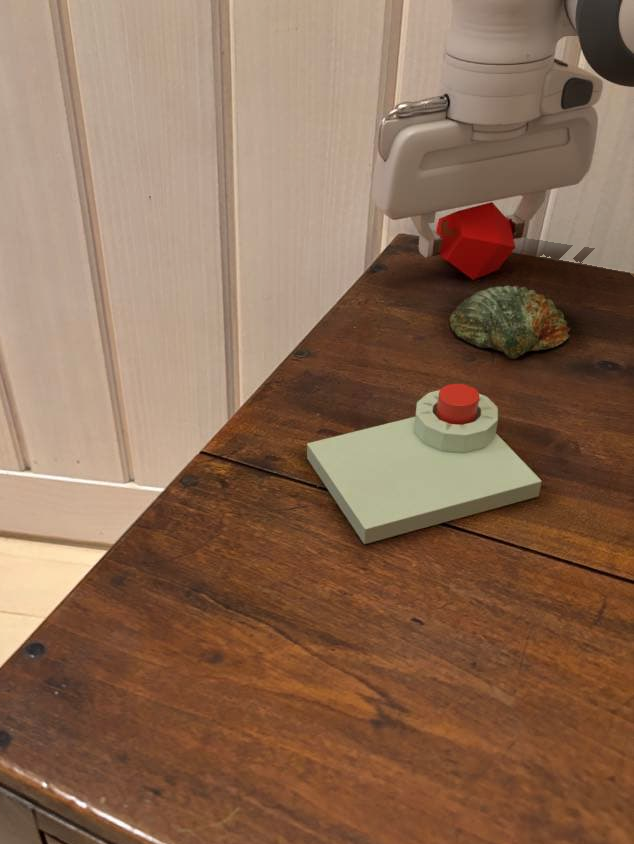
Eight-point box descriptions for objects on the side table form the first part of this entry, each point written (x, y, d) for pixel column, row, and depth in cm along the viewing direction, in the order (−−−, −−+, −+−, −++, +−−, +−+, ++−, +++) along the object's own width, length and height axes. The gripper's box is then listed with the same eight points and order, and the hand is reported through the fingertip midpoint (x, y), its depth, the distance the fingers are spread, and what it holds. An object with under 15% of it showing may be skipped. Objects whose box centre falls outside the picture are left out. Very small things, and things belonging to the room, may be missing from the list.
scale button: (464, 400, 67) (467, 379, 66) (483, 420, 65) (487, 400, 64) (429, 408, 67) (431, 388, 65) (448, 429, 65) (450, 409, 63)
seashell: (574, 259, 79) (577, 318, 72) (568, 303, 82) (571, 363, 74) (454, 261, 81) (445, 318, 74) (452, 303, 84) (444, 362, 77)
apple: (509, 192, 87) (442, 175, 84) (542, 233, 83) (473, 218, 80) (470, 254, 92) (405, 241, 88) (500, 296, 88) (433, 284, 84)
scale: (467, 415, 70) (472, 381, 68) (543, 495, 63) (551, 460, 61) (304, 455, 68) (304, 422, 66) (364, 545, 60) (366, 510, 58)
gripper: (397, 118, 72) (386, 281, 82) (621, 79, 77) (585, 238, 86) (363, 95, 77) (356, 252, 86) (576, 60, 81) (547, 213, 90)
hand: (472, 245), depth 86 cm, fingers open, 7 cm apart
